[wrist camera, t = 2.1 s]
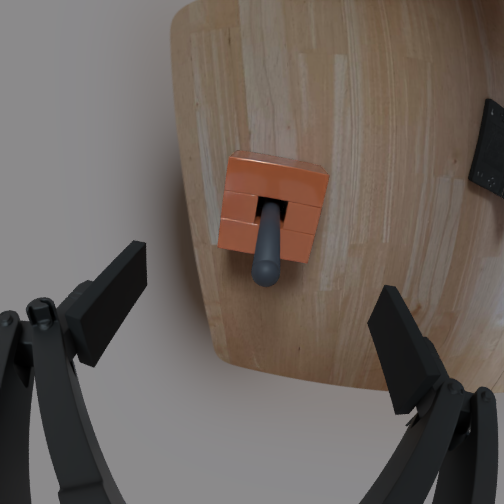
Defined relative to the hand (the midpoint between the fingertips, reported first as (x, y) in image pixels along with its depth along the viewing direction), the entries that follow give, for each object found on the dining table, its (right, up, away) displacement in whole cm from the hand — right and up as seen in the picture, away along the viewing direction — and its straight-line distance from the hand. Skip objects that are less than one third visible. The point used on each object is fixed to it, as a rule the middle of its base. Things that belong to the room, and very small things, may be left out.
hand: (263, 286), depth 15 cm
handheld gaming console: (+30, +14, +9) cm, 34 cm away
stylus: (+1, +7, +15) cm, 16 cm away
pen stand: (+1, +7, +15) cm, 16 cm away
